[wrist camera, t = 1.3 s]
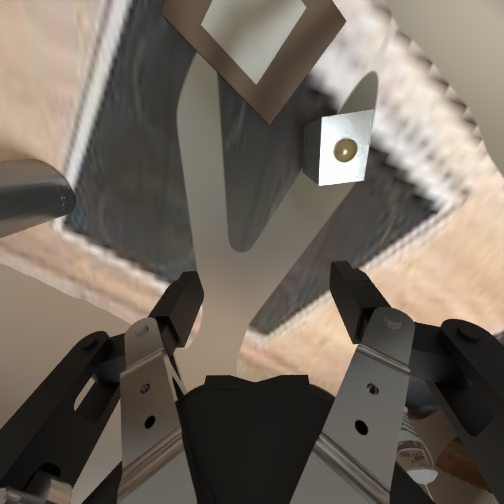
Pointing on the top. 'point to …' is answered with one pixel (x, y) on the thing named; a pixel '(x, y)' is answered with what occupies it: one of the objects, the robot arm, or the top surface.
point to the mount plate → (258, 43)
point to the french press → (414, 453)
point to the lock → (337, 147)
